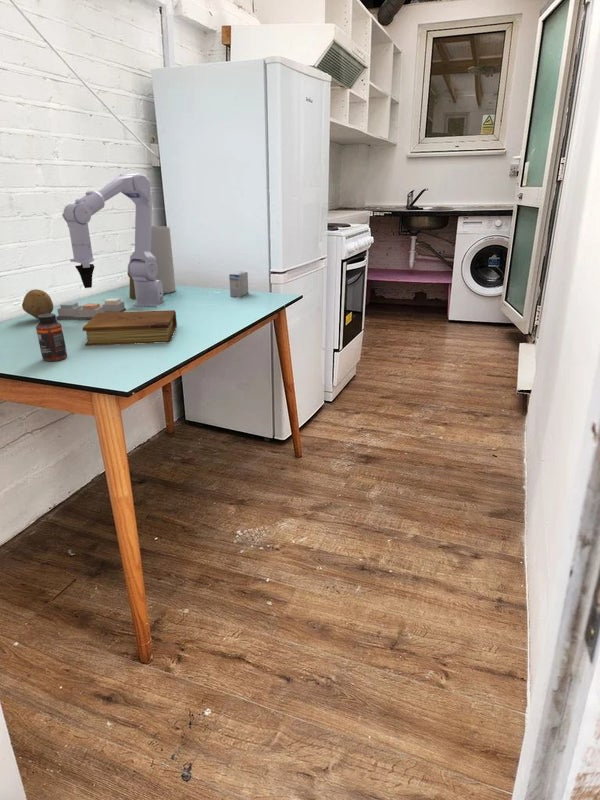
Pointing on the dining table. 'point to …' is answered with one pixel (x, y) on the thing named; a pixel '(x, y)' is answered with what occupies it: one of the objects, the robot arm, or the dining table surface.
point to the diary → (130, 327)
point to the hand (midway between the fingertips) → (88, 287)
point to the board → (89, 311)
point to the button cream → (112, 301)
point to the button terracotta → (91, 306)
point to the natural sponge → (37, 303)
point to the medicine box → (238, 284)
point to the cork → (132, 288)
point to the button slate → (69, 305)
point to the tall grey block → (163, 257)
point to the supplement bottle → (51, 338)
